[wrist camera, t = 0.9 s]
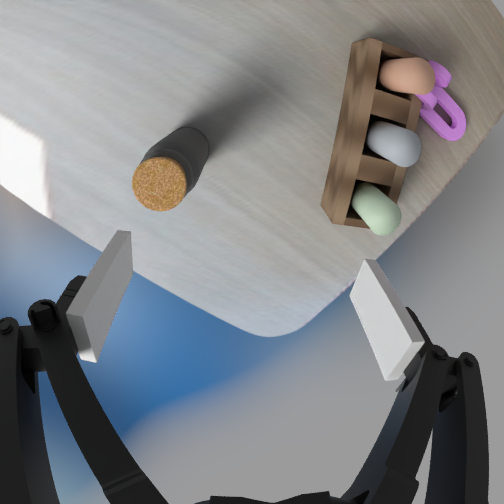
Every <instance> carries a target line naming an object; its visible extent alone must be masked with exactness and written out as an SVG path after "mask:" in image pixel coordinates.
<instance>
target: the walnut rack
mask: <svg viewBox="0 0 504 504" xmlns="http://www.w3.org/2000/svg"><path fill="white" fill-rule="evenodd" d="M415 57H418V58H421V57H419V56H417V55H414V54H412V53H410V52H407V51H405V50H402V49H400V48H397V47H395V46H392V45H390V44H387V43H384V42H382V41H379V40H376V39H373V38H367V39H364V40H361V41H358V42H355V43H352V46H351V52H350V59H349V65H348V71H347V77H346V83H345V89H344V95H343V100H342V106H341V111H340V116H339V122H338V127H337V132H336V137H335V142H334V147H333V152H332V156H331V161H330V166H329V170H328V175H327V179H326V184H325V188H324V193H323V197H322V201H321V207H322V208H323V210H324V211H325V213H326V214H327V216H328V217H329V219H330V220H331V222H332V224H340V225H347V226H354V227H361V228H368V229H370V227H369V226H368V225H367V224H366V223H365V221H364V220H363V219H362V218H361V217H360V215H359V214H358V213H357V212H356V211H355V209H354V208H353V207H352V205H351V203H350V200H351V196H352V192H353V188H354V184H355V180H356V179H358V180H363V181H368V182H370V183H371V184H373V185H374V186H375V187H376V188H378V189H379V190H380V191H381V192H382V193H384V194H385V195H386V196H387V197H388V198H390V199H391V200H392V201H393V202H394V203H395V204H397V201H398V197H399V194H400V191H401V187H402V184H403V180H404V177H405V173H406V169H407V167H401V166H398V165H396V164H395V163H393V162H391V161H390V160H388V159H386V158H384V157H383V156H381V155H379V154H377V153H375V152H374V151H370V150H366V149H363V146H364V142H365V137H366V133H367V128H368V123H369V118H370V114H372V115H376V116H379V117H383V118H385V121H384V122H387V123H390V124H393V125H396V126H399V127H402V128H405V129H408V130H411V131H413V132H414V133H416V128H417V124H418V119H419V114H420V109H421V104H422V101H421V100H420V99H419V98H418V97H417V96H416V95H415V94H412V93H403V92H394V91H390V94H389V93H386V92H383V91H380V90H377V89H375V86H376V80H377V74H378V68H379V62H380V60H383V61H385V60H391V59H402V58H415ZM422 59H423V58H422ZM424 60H425V59H424ZM426 61H427V62H429V61H428V60H426Z"/></svg>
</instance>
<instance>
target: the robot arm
mask: <svg viewBox="0 0 504 504" xmlns="http://www.w3.org/2000/svg"><path fill="white" fill-rule="evenodd" d="M132 275H133V264H132V247H131V232H130V231H121V230H118V231H117V232H116V234H115V235H114V236H113V238H112V239H111V241H110V242H109V244H108V245H107V247H106V248H105V250H104V251H103V253H102V254H101V256H100V258H99V259H98V261H97V262H96V264H95V265H94V267H93V269H92V270H91V271H90V273H89V275H88V276H87V277H86V276H79V275H78V276H77V277H75V278H74V279H73V280H71V281H70V282H69V284H68V285H67V287H66V290H64V292H63V293H62V296H60V298H59V300H58V301H57V303H56V304H55V302H53V301H51V300H47V299H44V300H39V301H37V302H35V303H33V304H32V305H31V306H30V308H29V310H28V317H29V320H30V322H31V325H30V326H19V324H18V322H17V320H15V319H14V318H12V317H6V318H2V319H1V320H0V504H60V503H59V500H58V496H57V493H56V489H55V485H54V481H53V477H52V473H51V469H50V464H49V459H48V454H47V449H46V443H45V437H44V430H43V424H42V416H41V407H40V397H39V384H38V371H39V372H40V371H47V374H48V377H49V380H50V382H51V385H52V388H53V390H54V393H55V395H56V398H57V400H58V403H59V405H60V408H61V410H62V412H63V414H64V417H65V419H66V421H67V423H68V426H69V428H70V430H71V432H72V434H73V436H74V438H75V440H76V442H77V444H78V446H79V448H80V450H81V452H82V453H83V455H84V457H85V459H86V461H87V463H88V464H89V466H90V468H91V469H92V471H93V473H94V475H95V476H96V478H97V480H98V481H99V483H100V485H101V487H102V489H103V492H104V494H105V496H106V498H107V499H108V501H109V502H110V504H168V502H167V501H166V500H165V499H164V498H163V496H162V495H161V494H160V493H159V491H158V490H157V489H156V487H155V486H154V485H153V484H152V482H151V481H150V480H149V478H148V477H147V476H146V475H145V473H144V472H143V471H142V470H141V469H140V467H139V466H138V464H137V463H136V462H135V460H134V459H133V457H132V456H131V454H130V453H129V452H128V450H127V448H126V447H125V445H124V444H123V442H122V441H121V439H120V437H119V436H118V434H117V433H116V431H115V429H114V428H113V426H112V424H111V423H110V421H109V419H108V418H107V416H106V414H105V412H104V411H103V409H102V407H101V405H100V403H99V401H98V400H97V398H96V396H95V394H94V392H93V390H92V388H91V387H90V384H89V382H88V380H87V378H86V376H85V374H84V372H83V370H82V368H81V366H80V364H79V361H78V359H77V357H76V355H77V353H78V352H79V355H80V357H81V359H82V360H86V361H91V362H96V363H97V361H98V358H99V355H100V352H101V350H102V347H103V344H104V342H105V339H106V337H107V334H108V331H109V329H110V326H111V324H112V321H113V319H114V317H115V314H116V312H117V310H118V307H119V305H120V302H121V300H122V298H123V295H124V293H125V291H126V289H127V286H128V284H129V282H130V280H131V277H132ZM350 298H351V300H352V303H353V305H354V307H355V309H356V312H357V314H358V316H359V318H360V321H361V323H362V325H363V328H364V330H365V332H366V335H367V337H368V340H369V342H370V344H371V346H372V349H373V351H374V354H375V356H376V359H377V361H378V364H379V366H380V369H381V371H382V374H383V376H384V379H385V381H389V380H398V378H399V377H400V376H401V375H402V373H403V372H404V374H405V376H406V378H405V379H404V381H403V382H402V384H400V386H399V387H398V388H397V389H396V392H397V391H398V390H399V389H400V390H399V392H398V395H397V397H396V399H395V402H394V404H393V406H392V409H391V411H390V413H389V416H388V418H387V420H386V422H385V424H384V426H383V428H382V431H381V432H380V435H379V437H378V439H377V441H376V443H375V445H374V447H373V449H372V450H371V452H370V454H369V456H368V458H367V460H366V462H365V463H364V465H363V467H362V469H361V471H360V472H359V474H358V476H357V477H356V479H355V481H354V482H353V484H352V485H351V487H350V488H349V489H348V490H347V491H346V493H345V494H343V496H342V497H341V498H336V497H332V496H330V494H329V491H326V492H319V493H309V494H301V495H298V496H295V497H292V498H289V499H286V500H283V501H279V502H276V503H268V502H263V501H258V500H253V499H248V498H244V497H225V496H224V497H223V496H211V497H210V500H207V501H202V502H198V503H195V504H412V501H413V499H414V496H415V494H416V492H417V490H418V486H419V482H418V481H417V480H416V479H415V477H416V474H417V472H418V469H419V466H420V464H421V461H422V458H423V455H424V453H425V450H426V447H427V444H428V441H429V438H430V435H431V431H432V428H433V435H432V449H431V460H430V470H429V478H428V485H427V492H426V498H425V504H489V503H488V485H489V452H488V431H487V419H486V409H485V401H484V393H483V386H482V380H481V374H480V368H479V363H478V361H477V360H476V358H475V356H473V355H472V354H470V353H468V352H463V353H461V355H460V356H459V357H458V358H453V357H449V356H448V354H447V352H446V351H445V350H444V349H443V348H442V347H440V346H438V345H433V344H432V342H431V340H430V338H429V337H428V335H427V333H426V331H425V330H424V328H423V327H422V325H421V323H420V322H419V320H418V318H417V316H416V315H415V313H414V312H413V311H412V310H411V309H410V308H409V307H405V306H404V305H403V303H402V301H401V300H400V298H399V296H398V295H397V293H396V291H395V290H394V288H393V287H392V285H391V284H390V282H389V280H388V279H387V277H386V276H385V274H384V273H383V271H382V269H381V268H380V266H379V265H378V264H377V262H376V260H370V259H364V261H363V264H362V266H361V269H360V271H359V274H358V276H357V279H356V281H355V284H354V286H353V288H352V291H351V293H350Z"/></svg>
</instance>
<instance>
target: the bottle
mask: <svg viewBox="0 0 504 504" xmlns="http://www.w3.org/2000/svg"><path fill="white" fill-rule="evenodd" d="M208 154H209V145H208V141H207V139H206V138H205V136H204V135H203V134H202V133H201V132H200V131H198V130H196V129H193V128H180V129H178V130H176V131H174V132H172V133H171V134H169V135H168V136H166V137H165V138H163V139H162V140H161V141H159V142H158V143H156V144H155V145H154V146H153V147H151V148H150V149H149V151H148V152H147V153H146V154H145V156H144V158H143V160H142V161H141V163H140V164H139V166H138V167H137V168H136V170H135V172H134V175H133V179H132V188H133V192H134V194H135V196H136V198H137V199H138V201H139V202H140V203H141V204H142V205H143V206H145V207H147V208H149V209H151V210H155V211H166V210H170V209H172V208H174V207H175V206H177V205H178V204H179V203H180V202H181V201H182V199H183V198H184V197H185V196H186V195H187V193H188V192H190V191H191V190H192V189H193V188H194V186H195V185H196V183H197V181H198V179H199V177H200V174H201V172H202V170H203V167H204V165H205V163H206V160H207V157H208Z"/></svg>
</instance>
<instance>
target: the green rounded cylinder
mask: <svg viewBox="0 0 504 504" xmlns="http://www.w3.org/2000/svg"><path fill="white" fill-rule="evenodd" d="M350 203H351V205H352V207H353V208H354V209H355V211H356V212H357V213H358V214H359V215H360V217H361V218H362V219H363V220H364V221H365V223H366V224H367V225H368V226H369V227H370V229H371V230H372V231H373V232H374V233H375V234H377V235H388V234H390V233H392V232H393V231H395V230H396V228H397V227H398V226H399V224H400V221H401V210H400V208H399V207H398V205H396V204H395V203H394V202H393V201H392V200H391V199H390V198H388V197H387V196H386V195H385V194H384V193H382V192H381V191H380V190H379V189H378V188H376V187H375V186H374V185H373V184H371V183H361V184H359V185H357V186H356V187H355V188H354V189H353V192H352V196H351V200H350Z"/></svg>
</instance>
